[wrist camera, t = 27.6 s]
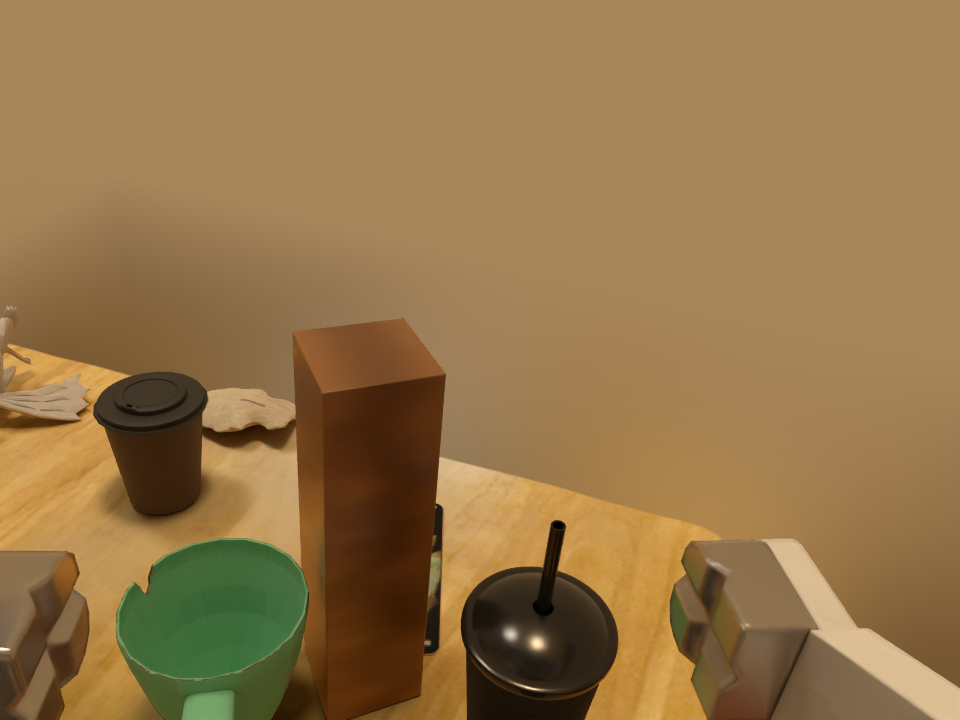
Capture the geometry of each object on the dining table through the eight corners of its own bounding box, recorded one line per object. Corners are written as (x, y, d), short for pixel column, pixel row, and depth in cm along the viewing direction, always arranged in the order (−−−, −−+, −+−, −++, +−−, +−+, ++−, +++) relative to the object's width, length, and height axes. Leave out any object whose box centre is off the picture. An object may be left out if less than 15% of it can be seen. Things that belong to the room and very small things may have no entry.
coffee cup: (102, 531, 57) (79, 424, 52) (120, 465, 64) (101, 364, 59) (214, 522, 59) (202, 417, 54) (221, 458, 66) (211, 360, 61)
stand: (327, 726, 46) (321, 392, 34) (304, 649, 50) (291, 331, 38) (421, 695, 48) (446, 373, 36) (390, 623, 53) (404, 317, 41)
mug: (152, 660, 48) (130, 545, 43) (308, 640, 51) (305, 529, 46) (113, 916, 36) (76, 797, 31) (321, 874, 39) (318, 756, 34)
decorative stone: (282, 453, 67) (286, 422, 66) (149, 428, 67) (151, 397, 66) (305, 417, 75) (309, 390, 74) (186, 395, 75) (188, 367, 74)
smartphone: (332, 649, 50) (358, 498, 63) (332, 656, 51) (358, 504, 63) (439, 654, 51) (443, 503, 64) (439, 661, 51) (443, 509, 64)
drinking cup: (593, 762, 45) (663, 506, 35) (547, 886, 39) (615, 619, 29) (479, 705, 48) (514, 452, 38) (418, 814, 42) (441, 546, 32)
